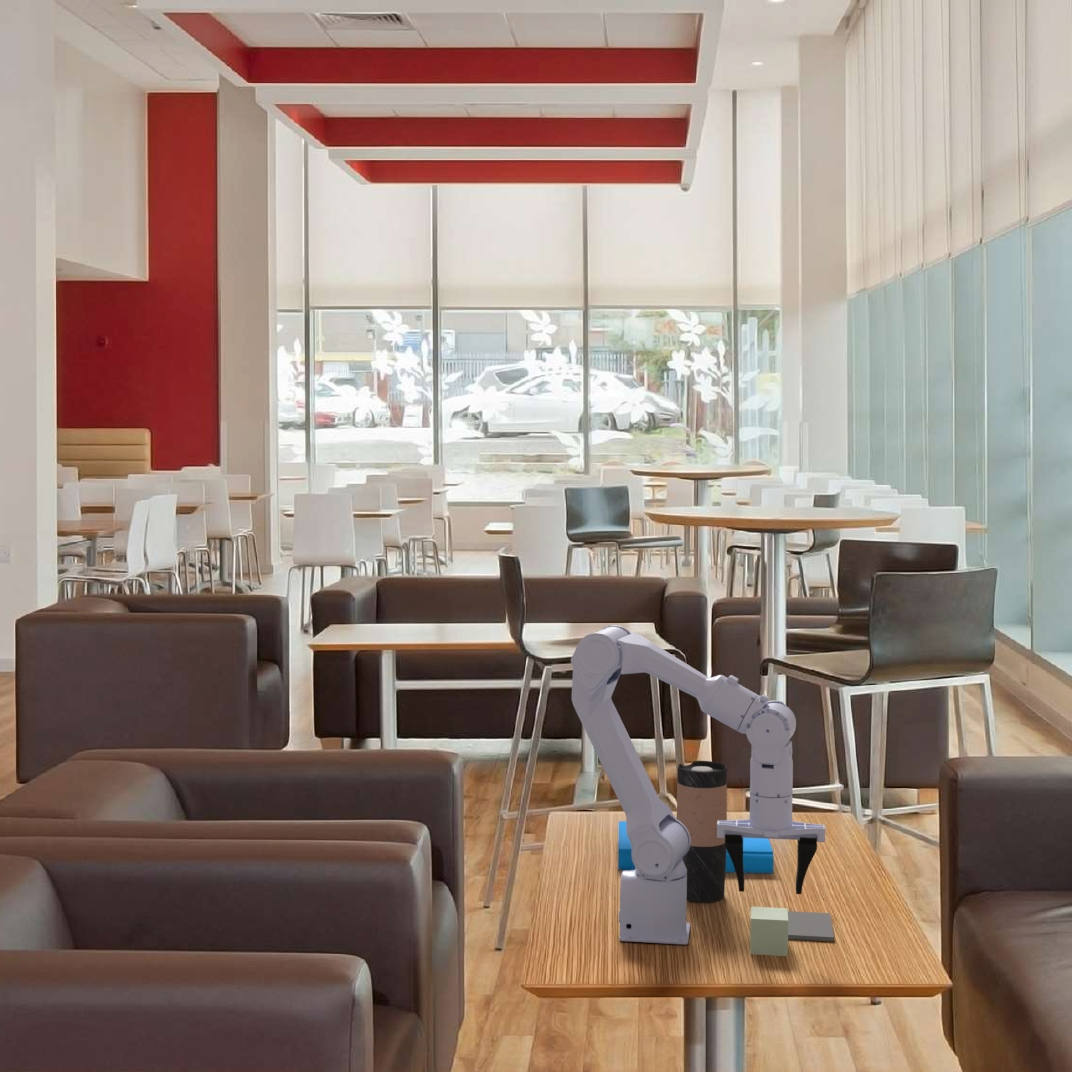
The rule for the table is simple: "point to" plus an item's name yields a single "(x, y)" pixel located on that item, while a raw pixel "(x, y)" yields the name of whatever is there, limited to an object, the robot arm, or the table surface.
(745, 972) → the table surface
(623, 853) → the book
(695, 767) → the travel mug
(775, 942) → the cube
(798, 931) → the coaster
